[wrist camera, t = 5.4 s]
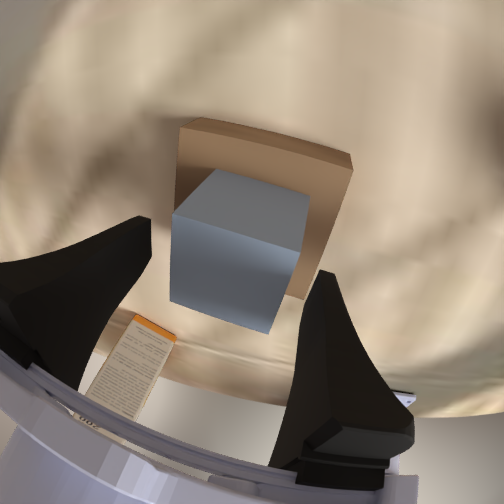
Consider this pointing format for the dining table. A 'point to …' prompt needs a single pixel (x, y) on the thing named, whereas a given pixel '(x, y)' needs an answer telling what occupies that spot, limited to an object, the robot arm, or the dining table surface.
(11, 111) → the dining table surface
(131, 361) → the supplement box
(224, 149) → the base
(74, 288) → the robot arm
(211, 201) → the cube
